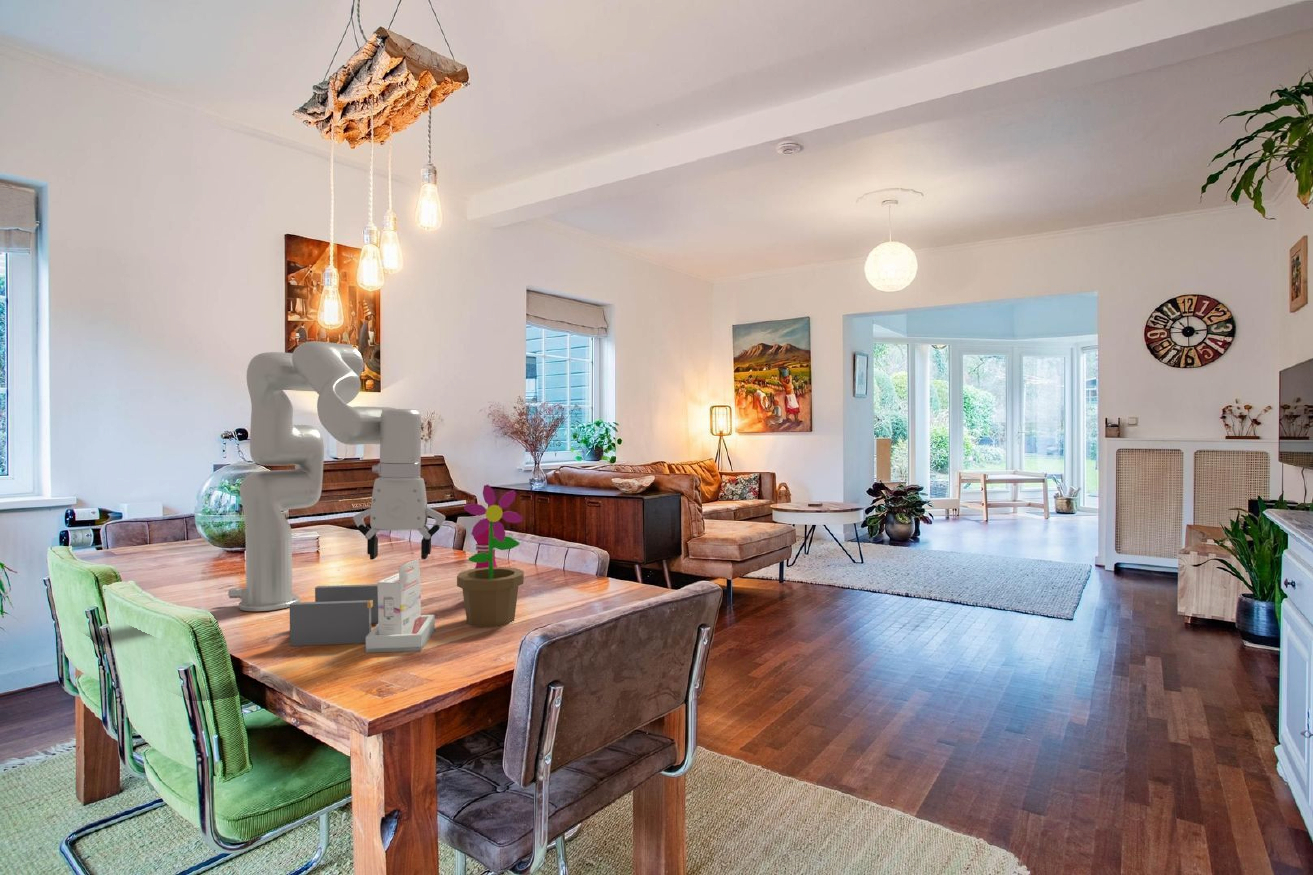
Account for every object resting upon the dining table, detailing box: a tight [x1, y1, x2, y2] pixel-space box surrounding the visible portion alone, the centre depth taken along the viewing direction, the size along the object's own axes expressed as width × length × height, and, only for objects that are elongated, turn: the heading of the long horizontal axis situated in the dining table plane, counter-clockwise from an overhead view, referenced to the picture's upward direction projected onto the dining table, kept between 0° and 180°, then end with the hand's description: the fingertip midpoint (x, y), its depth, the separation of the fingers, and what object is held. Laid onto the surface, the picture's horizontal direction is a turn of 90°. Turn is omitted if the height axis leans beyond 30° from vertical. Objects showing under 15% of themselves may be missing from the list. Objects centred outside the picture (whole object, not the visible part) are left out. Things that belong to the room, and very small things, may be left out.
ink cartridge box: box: [376, 558, 422, 635], centre depth 139 cm, size 9×5×15 cm, turn 173°
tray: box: [365, 614, 436, 654], centre depth 139 cm, size 10×14×3 cm
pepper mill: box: [473, 516, 498, 569], centre depth 171 cm, size 7×7×20 cm
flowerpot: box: [456, 484, 525, 628], centre depth 152 cm, size 14×14×30 cm
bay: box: [289, 583, 378, 647], centre depth 144 cm, size 15×16×8 cm
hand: (399, 558), depth 139 cm, fingers open, 9 cm apart
